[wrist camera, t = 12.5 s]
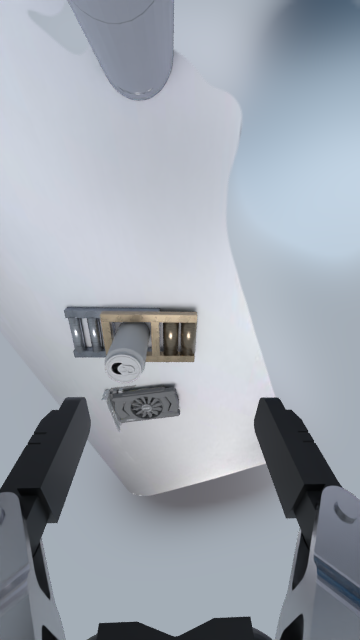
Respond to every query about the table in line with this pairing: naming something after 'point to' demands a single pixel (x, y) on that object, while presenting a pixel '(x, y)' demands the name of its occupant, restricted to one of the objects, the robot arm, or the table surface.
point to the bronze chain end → (158, 332)
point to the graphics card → (141, 403)
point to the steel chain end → (92, 329)
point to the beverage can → (128, 352)
